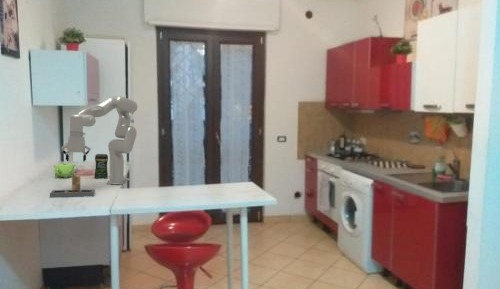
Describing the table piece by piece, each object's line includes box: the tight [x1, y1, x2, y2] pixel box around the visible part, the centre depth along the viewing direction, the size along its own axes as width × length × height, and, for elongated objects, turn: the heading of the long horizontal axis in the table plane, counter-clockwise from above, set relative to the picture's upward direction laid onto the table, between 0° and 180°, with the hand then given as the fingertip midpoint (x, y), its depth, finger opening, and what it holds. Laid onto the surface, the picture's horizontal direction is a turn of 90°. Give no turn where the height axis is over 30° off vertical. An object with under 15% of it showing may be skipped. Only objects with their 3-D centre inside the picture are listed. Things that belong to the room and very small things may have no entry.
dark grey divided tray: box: [49, 189, 96, 198], centre depth 243 cm, size 24×9×3 cm, turn 106°
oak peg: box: [71, 174, 81, 190], centre depth 256 cm, size 4×4×10 cm
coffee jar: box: [94, 153, 109, 179], centre depth 308 cm, size 10×8×19 cm
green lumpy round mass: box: [53, 162, 77, 179], centre depth 305 cm, size 15×14×11 cm
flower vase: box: [61, 141, 78, 172], centre depth 329 cm, size 13×18×25 cm
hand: (75, 161), depth 255 cm, fingers open, 9 cm apart
